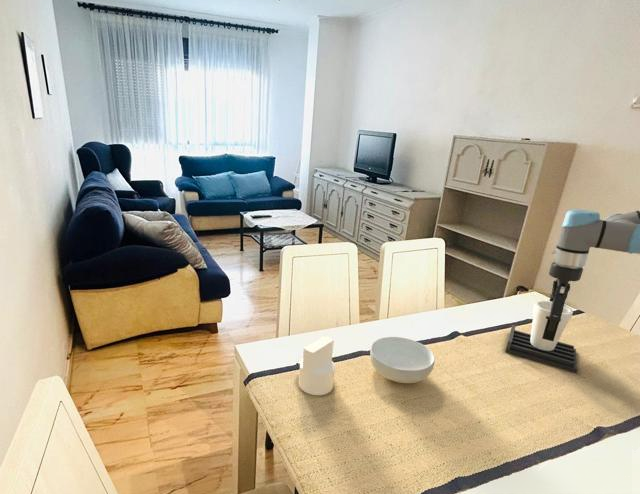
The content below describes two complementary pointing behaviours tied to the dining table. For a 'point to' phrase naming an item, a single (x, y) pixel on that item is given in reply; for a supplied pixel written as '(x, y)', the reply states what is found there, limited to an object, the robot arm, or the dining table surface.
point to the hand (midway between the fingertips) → (548, 330)
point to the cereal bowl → (401, 359)
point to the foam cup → (540, 322)
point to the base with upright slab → (317, 367)
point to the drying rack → (542, 351)
